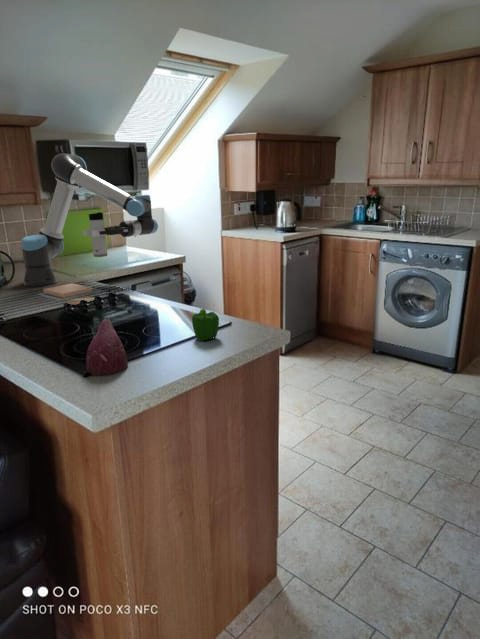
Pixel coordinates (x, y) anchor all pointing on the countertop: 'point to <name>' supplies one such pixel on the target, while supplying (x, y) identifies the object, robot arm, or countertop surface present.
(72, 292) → the tile
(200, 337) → the bell pepper
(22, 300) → the countertop surface
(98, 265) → the countertop surface
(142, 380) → the countertop surface
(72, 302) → the coaster
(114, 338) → the vegetable
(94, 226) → the travel mug
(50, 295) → the mat
